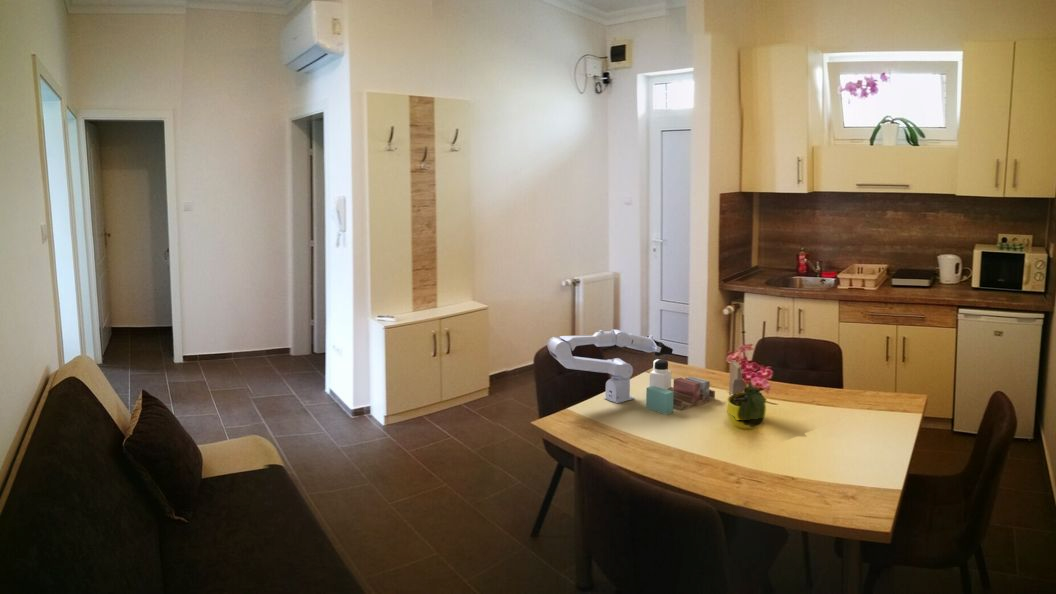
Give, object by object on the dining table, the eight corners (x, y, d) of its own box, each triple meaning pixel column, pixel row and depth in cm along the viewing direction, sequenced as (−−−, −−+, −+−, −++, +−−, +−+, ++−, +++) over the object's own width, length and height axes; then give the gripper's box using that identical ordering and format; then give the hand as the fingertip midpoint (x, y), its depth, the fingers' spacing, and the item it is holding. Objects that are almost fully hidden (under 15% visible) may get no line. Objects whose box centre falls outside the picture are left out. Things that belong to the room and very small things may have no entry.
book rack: (679, 410, 271) (680, 389, 269) (655, 402, 280) (656, 382, 279) (714, 399, 283) (715, 380, 282) (691, 392, 293) (691, 373, 291)
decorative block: (751, 421, 258) (753, 367, 255) (735, 420, 259) (737, 367, 255) (743, 411, 269) (745, 359, 266) (728, 410, 270) (730, 359, 266)
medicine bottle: (671, 387, 300) (672, 359, 298) (665, 391, 294) (665, 363, 292) (655, 384, 304) (656, 357, 302) (648, 388, 298) (649, 361, 296)
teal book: (665, 414, 266) (666, 394, 265) (646, 407, 274) (646, 387, 273) (673, 412, 269) (673, 391, 267) (653, 405, 277) (653, 385, 275)
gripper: (649, 337, 277) (679, 344, 281) (633, 328, 290) (661, 335, 295) (644, 354, 277) (674, 361, 282) (628, 345, 291) (656, 351, 295)
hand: (667, 349), depth 288 cm, fingers open, 7 cm apart
